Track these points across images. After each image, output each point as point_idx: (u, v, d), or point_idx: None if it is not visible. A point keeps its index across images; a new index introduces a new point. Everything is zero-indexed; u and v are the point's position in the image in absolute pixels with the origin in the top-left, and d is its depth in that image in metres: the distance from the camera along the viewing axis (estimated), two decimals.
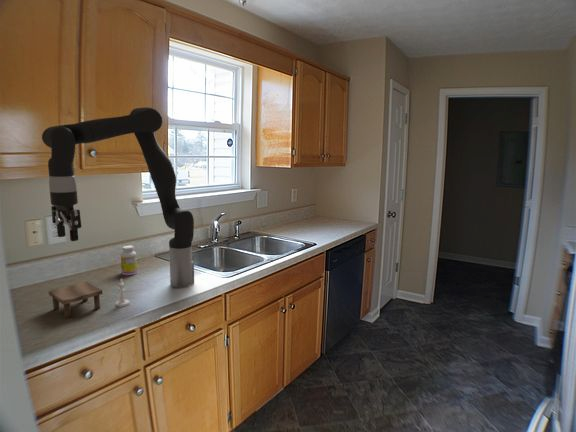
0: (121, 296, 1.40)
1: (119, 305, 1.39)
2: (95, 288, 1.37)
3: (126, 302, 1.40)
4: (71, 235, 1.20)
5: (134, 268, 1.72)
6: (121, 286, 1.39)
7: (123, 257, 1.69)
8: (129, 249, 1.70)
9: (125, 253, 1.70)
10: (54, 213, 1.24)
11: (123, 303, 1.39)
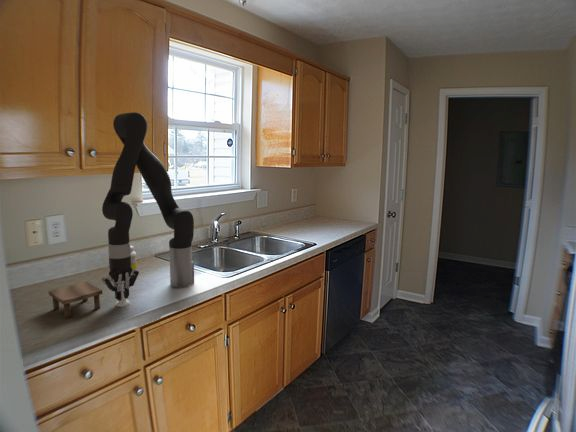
0: (121, 296, 1.40)
1: (119, 305, 1.39)
2: (95, 288, 1.37)
3: (126, 302, 1.40)
4: (127, 293, 1.41)
5: (134, 268, 1.72)
6: (121, 286, 1.39)
7: None
8: None
9: None
10: None
11: (123, 303, 1.39)
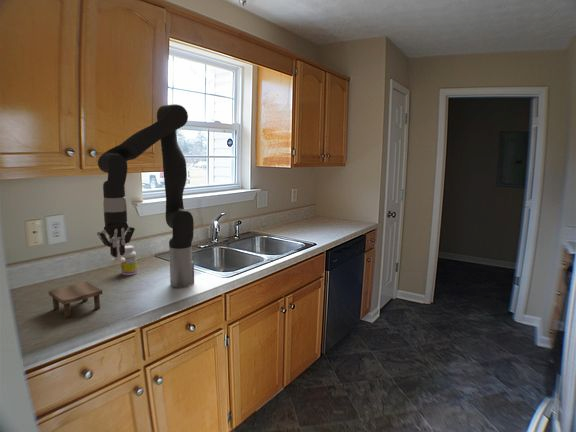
0: (117, 253, 1.37)
1: (115, 261, 1.35)
2: (95, 288, 1.37)
3: (122, 259, 1.37)
4: (123, 250, 1.38)
5: (134, 268, 1.72)
6: (117, 242, 1.36)
7: (123, 257, 1.69)
8: (129, 249, 1.70)
9: (125, 253, 1.70)
10: None
11: (119, 259, 1.36)
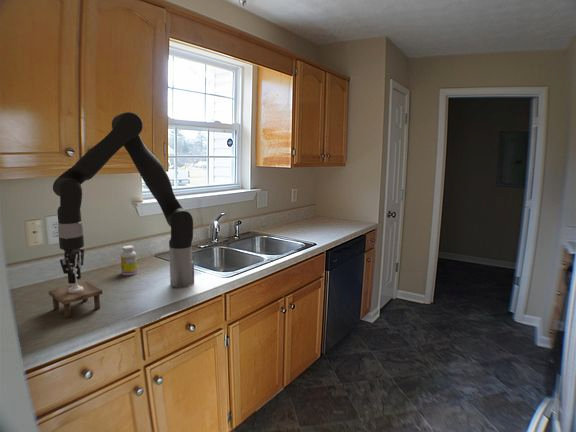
0: (75, 282, 1.34)
1: (77, 291, 1.33)
2: (95, 288, 1.37)
3: (81, 287, 1.35)
4: None
5: (134, 268, 1.72)
6: (75, 271, 1.33)
7: (123, 257, 1.69)
8: (129, 249, 1.70)
9: (125, 253, 1.70)
10: None
11: (80, 288, 1.34)
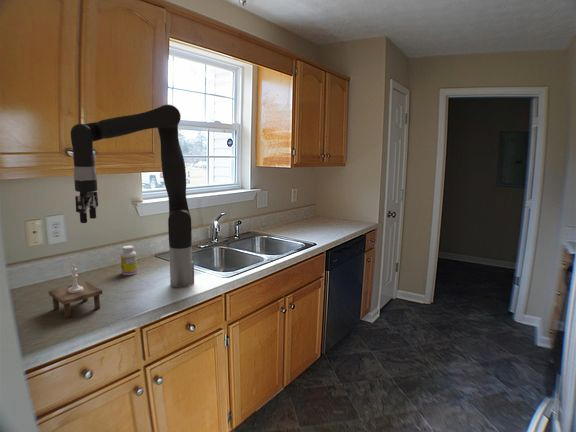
0: (75, 282, 1.34)
1: (77, 291, 1.33)
2: (95, 288, 1.37)
3: (81, 287, 1.35)
4: None
5: (134, 268, 1.72)
6: (75, 271, 1.33)
7: (123, 257, 1.69)
8: (129, 249, 1.70)
9: (125, 253, 1.70)
10: None
11: (80, 288, 1.34)
